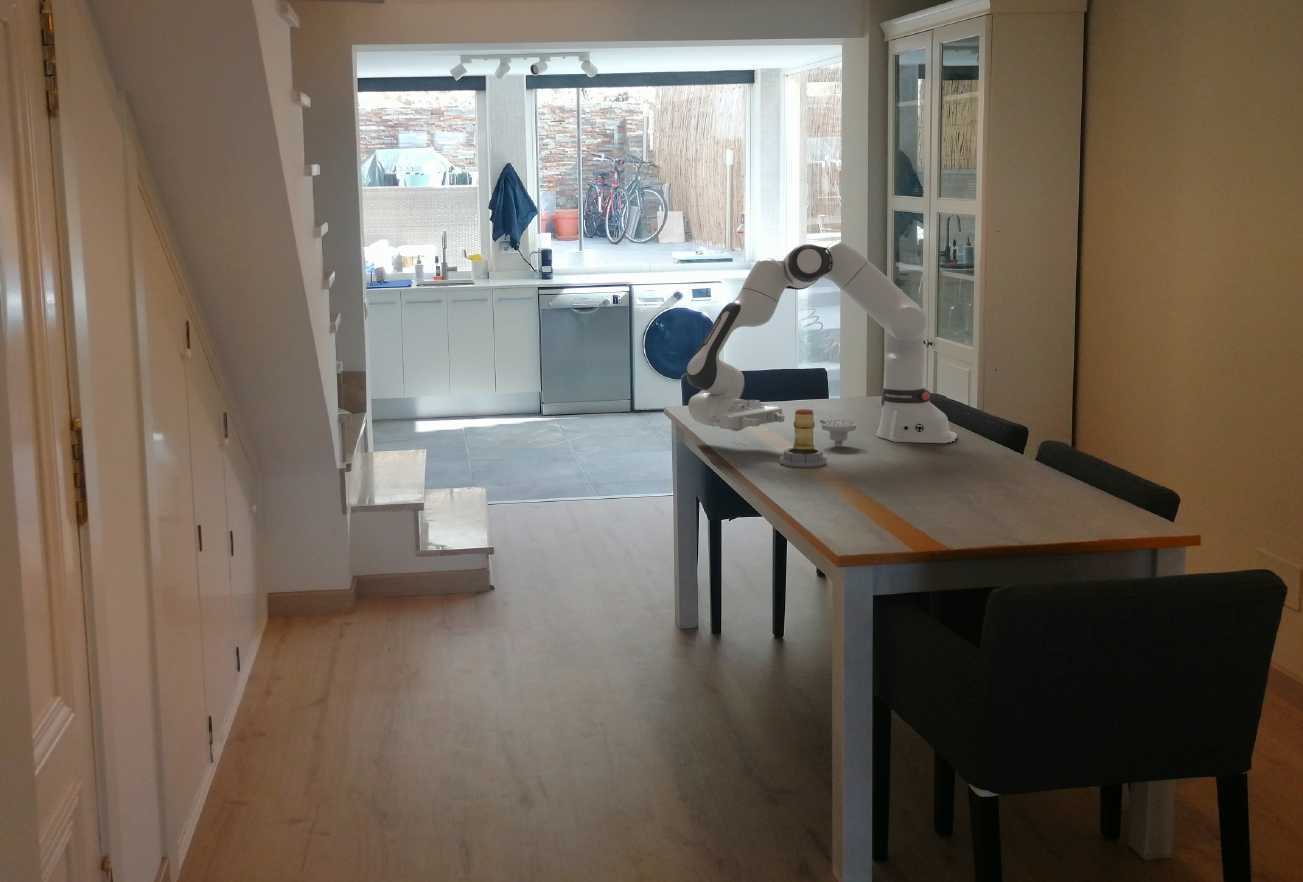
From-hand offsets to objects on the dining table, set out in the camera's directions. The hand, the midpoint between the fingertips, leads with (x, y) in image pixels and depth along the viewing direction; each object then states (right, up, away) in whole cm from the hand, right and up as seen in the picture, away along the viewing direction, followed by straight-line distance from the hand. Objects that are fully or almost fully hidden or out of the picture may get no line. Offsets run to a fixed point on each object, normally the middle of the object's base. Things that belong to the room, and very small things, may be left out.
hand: (770, 421), depth 334 cm
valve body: (+8, -10, -7) cm, 15 cm away
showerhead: (+20, -7, +14) cm, 26 cm away
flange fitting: (+8, -11, -7) cm, 15 cm away
